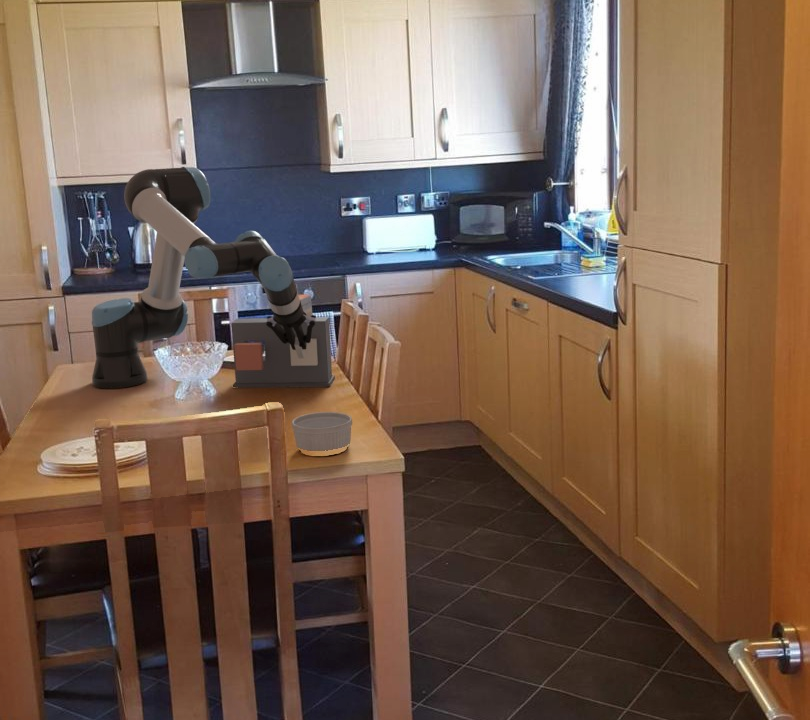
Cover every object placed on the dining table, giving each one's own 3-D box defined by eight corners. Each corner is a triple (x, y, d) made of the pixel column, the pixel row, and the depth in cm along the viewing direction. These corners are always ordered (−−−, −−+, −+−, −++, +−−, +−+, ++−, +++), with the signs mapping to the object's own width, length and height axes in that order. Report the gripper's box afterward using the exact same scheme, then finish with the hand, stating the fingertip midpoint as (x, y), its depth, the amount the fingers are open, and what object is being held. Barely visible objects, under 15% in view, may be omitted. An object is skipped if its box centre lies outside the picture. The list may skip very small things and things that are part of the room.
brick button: (261, 369, 268) (260, 344, 267) (236, 370, 269) (234, 344, 267) (270, 360, 279) (268, 336, 277) (245, 361, 279) (243, 336, 278)
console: (329, 386, 274) (326, 322, 270) (232, 388, 277) (228, 324, 273) (334, 378, 283) (331, 315, 279) (240, 379, 285) (236, 317, 281)
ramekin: (294, 442, 227) (292, 412, 226) (352, 439, 228) (351, 409, 226) (292, 461, 214) (290, 430, 213) (354, 457, 215) (352, 426, 213)
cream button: (316, 365, 271) (315, 340, 270) (291, 365, 272) (289, 340, 270) (323, 356, 281) (321, 332, 280) (298, 356, 282) (296, 332, 280)
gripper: (312, 290, 251) (327, 341, 271) (261, 292, 252) (279, 342, 272) (309, 315, 247) (324, 365, 267) (258, 316, 248) (276, 366, 268)
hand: (301, 354), depth 270 cm, fingers closed
